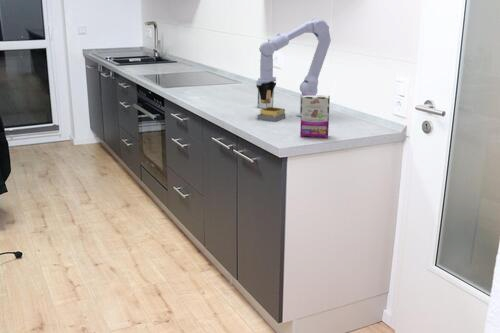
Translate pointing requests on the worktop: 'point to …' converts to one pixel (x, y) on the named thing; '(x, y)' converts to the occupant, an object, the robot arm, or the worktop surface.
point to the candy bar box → (314, 116)
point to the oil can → (267, 97)
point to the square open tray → (271, 114)
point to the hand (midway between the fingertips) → (266, 98)
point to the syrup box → (263, 105)
